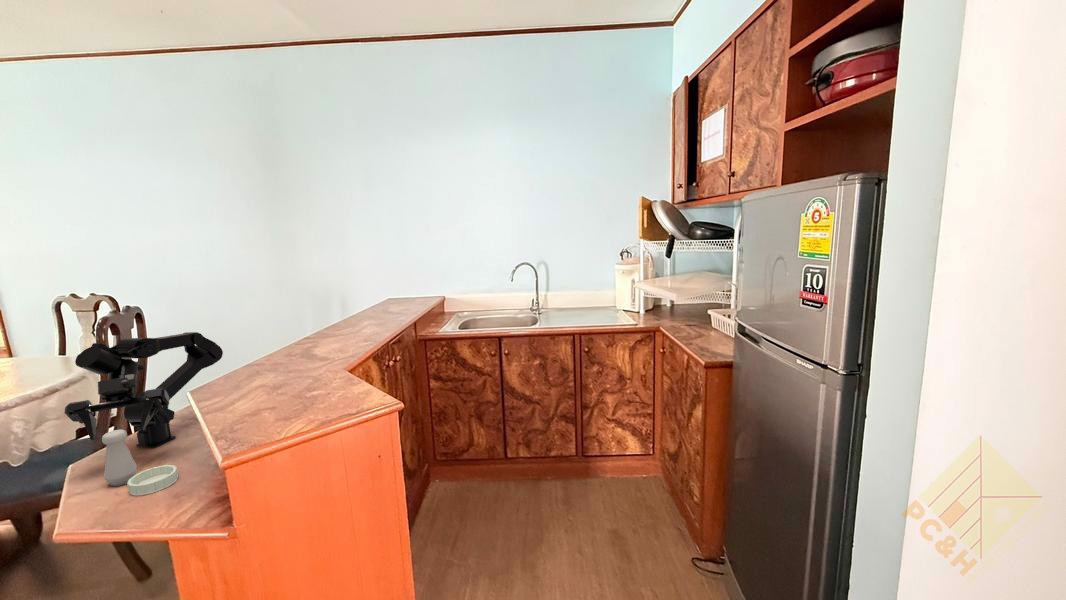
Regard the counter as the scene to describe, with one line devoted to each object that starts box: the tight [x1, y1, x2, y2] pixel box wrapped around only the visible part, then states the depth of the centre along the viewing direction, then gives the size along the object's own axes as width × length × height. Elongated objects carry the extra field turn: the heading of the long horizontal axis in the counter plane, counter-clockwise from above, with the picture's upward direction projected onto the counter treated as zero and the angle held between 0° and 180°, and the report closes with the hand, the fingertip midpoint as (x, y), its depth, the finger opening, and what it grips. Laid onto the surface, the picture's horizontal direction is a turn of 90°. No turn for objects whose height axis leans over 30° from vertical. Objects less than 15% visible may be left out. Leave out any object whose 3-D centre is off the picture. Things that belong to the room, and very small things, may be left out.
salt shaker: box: [101, 429, 138, 487], centre depth 102 cm, size 6×6×13 cm
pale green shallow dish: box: [126, 464, 179, 497], centre depth 101 cm, size 9×9×2 cm
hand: (117, 434), depth 105 cm, fingers open, 9 cm apart
